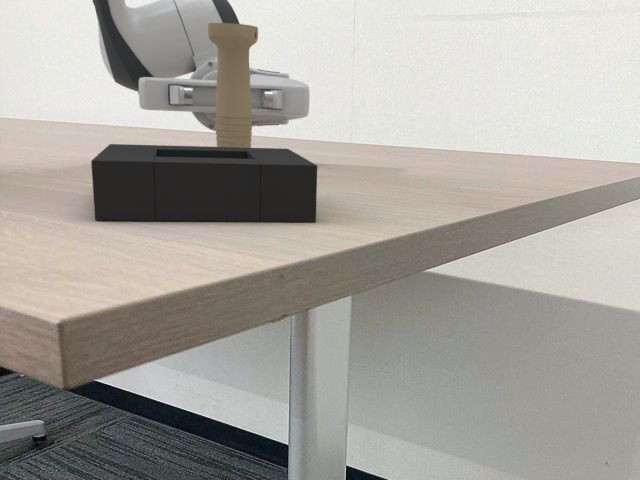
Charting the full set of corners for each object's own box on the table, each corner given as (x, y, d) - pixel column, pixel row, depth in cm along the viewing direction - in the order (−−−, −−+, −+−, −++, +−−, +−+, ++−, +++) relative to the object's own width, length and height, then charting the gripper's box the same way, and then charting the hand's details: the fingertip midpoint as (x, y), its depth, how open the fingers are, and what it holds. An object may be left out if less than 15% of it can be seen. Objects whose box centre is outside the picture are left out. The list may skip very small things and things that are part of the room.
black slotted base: (95, 220, 52) (91, 160, 51) (112, 191, 66) (109, 143, 65) (315, 222, 55) (317, 165, 54) (287, 194, 69) (288, 148, 68)
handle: (263, 171, 87) (264, 29, 83) (246, 177, 81) (246, 23, 77) (222, 169, 88) (221, 27, 83) (202, 174, 82) (200, 22, 77)
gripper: (137, 66, 96) (132, 62, 83) (299, 74, 101) (318, 72, 88) (139, 118, 98) (134, 123, 85) (298, 124, 103) (316, 130, 90)
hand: (229, 97), depth 87 cm, fingers open, 8 cm apart
